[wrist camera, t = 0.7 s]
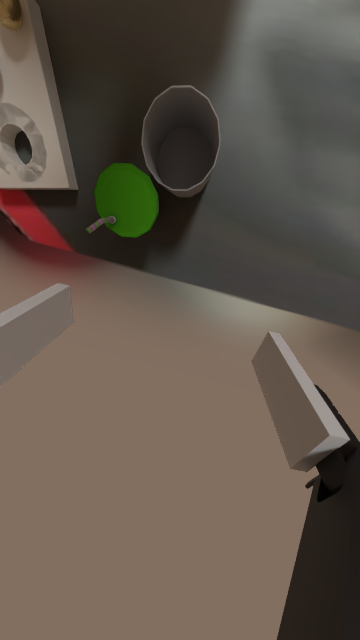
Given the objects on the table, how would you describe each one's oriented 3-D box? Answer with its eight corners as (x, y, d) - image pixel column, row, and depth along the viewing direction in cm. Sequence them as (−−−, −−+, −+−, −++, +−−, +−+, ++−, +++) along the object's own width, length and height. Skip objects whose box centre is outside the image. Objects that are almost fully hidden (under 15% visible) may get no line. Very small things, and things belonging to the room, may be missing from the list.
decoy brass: (-6, -10, 20) (-41, -48, 17) (23, -12, 20) (-7, -51, 17) (7, 40, 22) (-22, 13, 19) (35, 39, 22) (10, 12, 19)
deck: (-61, 12, 23) (-88, -9, 21) (39, 6, 22) (22, -17, 20) (5, 189, 32) (-9, 187, 30) (78, 189, 31) (69, 187, 29)
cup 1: (163, 171, 29) (136, 138, 16) (173, 227, 33) (157, 236, 20) (116, 183, 30) (56, 160, 17) (131, 235, 34) (90, 249, 21)
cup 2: (202, 204, 31) (205, 200, 22) (154, 190, 30) (137, 180, 22) (220, 136, 27) (232, 98, 18) (164, 118, 26) (148, 71, 17)
